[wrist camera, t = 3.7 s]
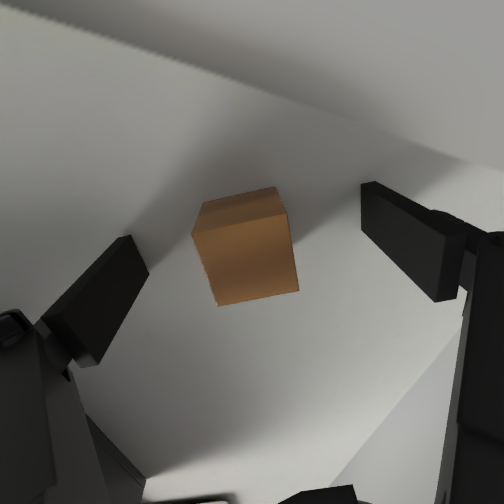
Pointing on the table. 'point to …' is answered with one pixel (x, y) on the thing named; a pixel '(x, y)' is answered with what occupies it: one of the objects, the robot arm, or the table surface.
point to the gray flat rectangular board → (215, 502)
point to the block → (246, 247)
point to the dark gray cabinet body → (116, 470)
